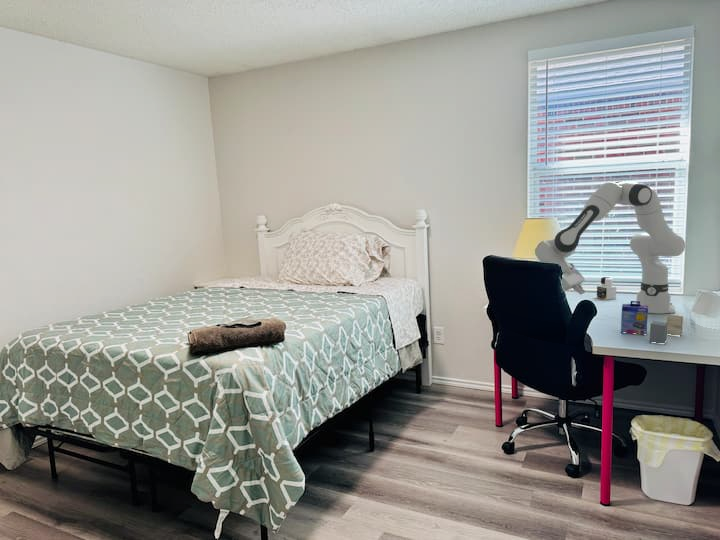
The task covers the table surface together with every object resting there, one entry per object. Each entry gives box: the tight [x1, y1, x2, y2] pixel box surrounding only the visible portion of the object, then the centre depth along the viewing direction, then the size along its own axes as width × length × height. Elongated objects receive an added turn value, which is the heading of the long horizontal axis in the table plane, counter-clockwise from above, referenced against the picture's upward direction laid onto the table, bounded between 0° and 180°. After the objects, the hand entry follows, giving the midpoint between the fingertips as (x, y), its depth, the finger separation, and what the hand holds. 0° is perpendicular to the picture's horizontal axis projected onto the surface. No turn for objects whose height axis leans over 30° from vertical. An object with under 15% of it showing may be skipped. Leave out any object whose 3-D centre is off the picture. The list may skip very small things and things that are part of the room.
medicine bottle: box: [596, 276, 617, 301], centre depth 282 cm, size 7×7×12 cm
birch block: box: [666, 314, 684, 336], centre depth 210 cm, size 5×5×8 cm
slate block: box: [649, 320, 668, 344], centre depth 201 cm, size 5×5×8 cm
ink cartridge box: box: [620, 300, 649, 335], centre depth 215 cm, size 10×6×14 cm, turn 62°
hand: (583, 293), depth 227 cm, fingers closed
